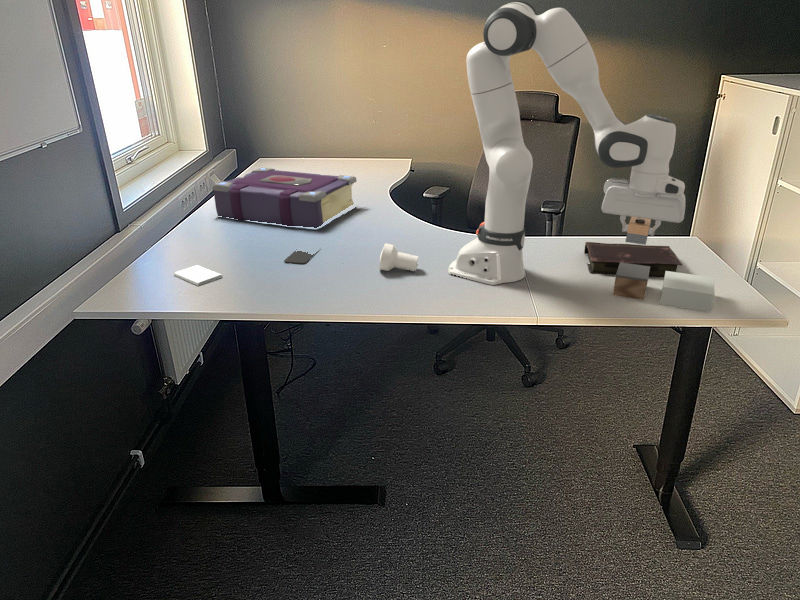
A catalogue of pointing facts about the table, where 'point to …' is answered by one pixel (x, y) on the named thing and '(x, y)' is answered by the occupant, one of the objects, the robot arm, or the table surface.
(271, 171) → the book
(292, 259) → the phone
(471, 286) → the table surface
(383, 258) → the spotlight
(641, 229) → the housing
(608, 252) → the diary
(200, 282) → the external hard drive
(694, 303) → the grey stand
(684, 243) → the table surface
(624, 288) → the walnut stand
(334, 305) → the table surface
